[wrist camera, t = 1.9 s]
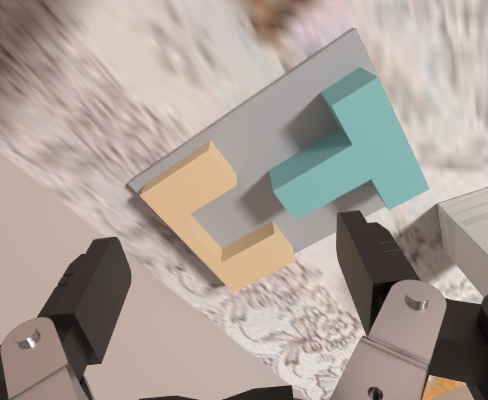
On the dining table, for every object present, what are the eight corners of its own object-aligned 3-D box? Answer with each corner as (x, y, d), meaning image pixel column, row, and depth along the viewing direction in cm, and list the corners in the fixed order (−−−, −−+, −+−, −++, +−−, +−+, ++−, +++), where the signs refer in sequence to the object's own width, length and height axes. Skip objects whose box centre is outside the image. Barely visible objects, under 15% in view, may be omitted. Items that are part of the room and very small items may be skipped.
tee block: (360, 66, 31) (377, 76, 27) (408, 168, 36) (429, 189, 32) (247, 139, 34) (248, 158, 30) (306, 223, 39) (314, 248, 35)
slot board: (352, 27, 30) (365, 30, 27) (423, 180, 38) (439, 196, 35) (130, 179, 37) (121, 196, 34) (228, 282, 45) (227, 302, 42)
